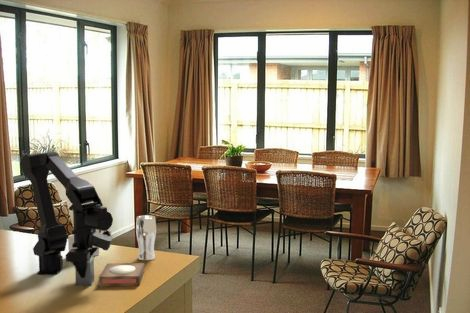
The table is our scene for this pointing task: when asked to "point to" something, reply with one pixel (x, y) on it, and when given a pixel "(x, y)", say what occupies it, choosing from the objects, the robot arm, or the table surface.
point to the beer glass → (146, 236)
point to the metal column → (88, 276)
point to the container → (71, 241)
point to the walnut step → (122, 274)
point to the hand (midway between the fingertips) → (84, 274)
